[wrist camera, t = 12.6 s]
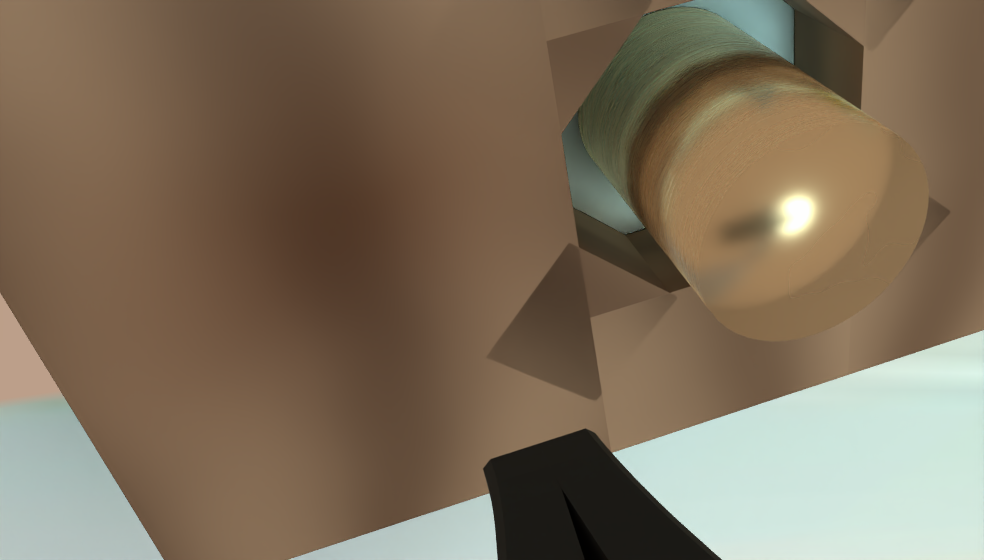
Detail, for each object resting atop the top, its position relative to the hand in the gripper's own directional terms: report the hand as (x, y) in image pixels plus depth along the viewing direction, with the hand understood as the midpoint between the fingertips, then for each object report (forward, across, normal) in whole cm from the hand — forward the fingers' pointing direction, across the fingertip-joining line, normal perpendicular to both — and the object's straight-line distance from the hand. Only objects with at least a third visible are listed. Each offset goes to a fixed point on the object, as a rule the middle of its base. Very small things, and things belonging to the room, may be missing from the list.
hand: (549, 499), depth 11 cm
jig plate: (+9, -3, 0) cm, 10 cm away
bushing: (+9, -6, 0) cm, 11 cm away
